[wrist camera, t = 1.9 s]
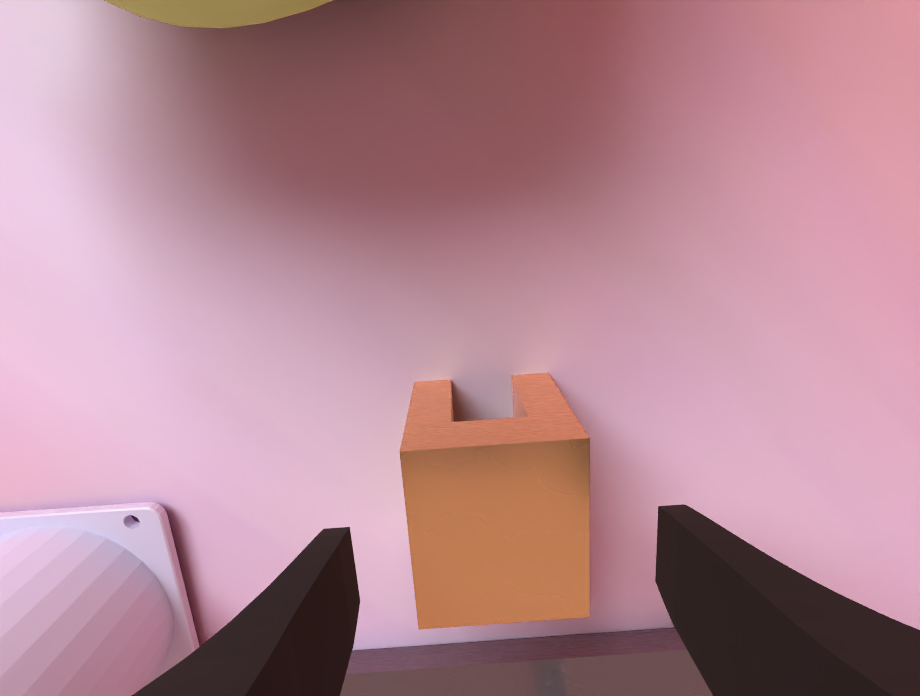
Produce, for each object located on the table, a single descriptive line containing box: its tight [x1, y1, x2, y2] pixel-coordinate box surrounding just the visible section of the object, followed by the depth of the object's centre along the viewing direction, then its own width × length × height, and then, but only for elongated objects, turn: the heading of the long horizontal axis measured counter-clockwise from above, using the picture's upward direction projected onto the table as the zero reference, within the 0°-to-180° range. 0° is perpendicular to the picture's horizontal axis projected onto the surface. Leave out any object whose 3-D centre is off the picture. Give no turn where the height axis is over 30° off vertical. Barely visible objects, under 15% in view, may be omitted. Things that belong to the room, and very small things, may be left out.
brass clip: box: [400, 373, 590, 629], centre depth 15 cm, size 4×5×5 cm
